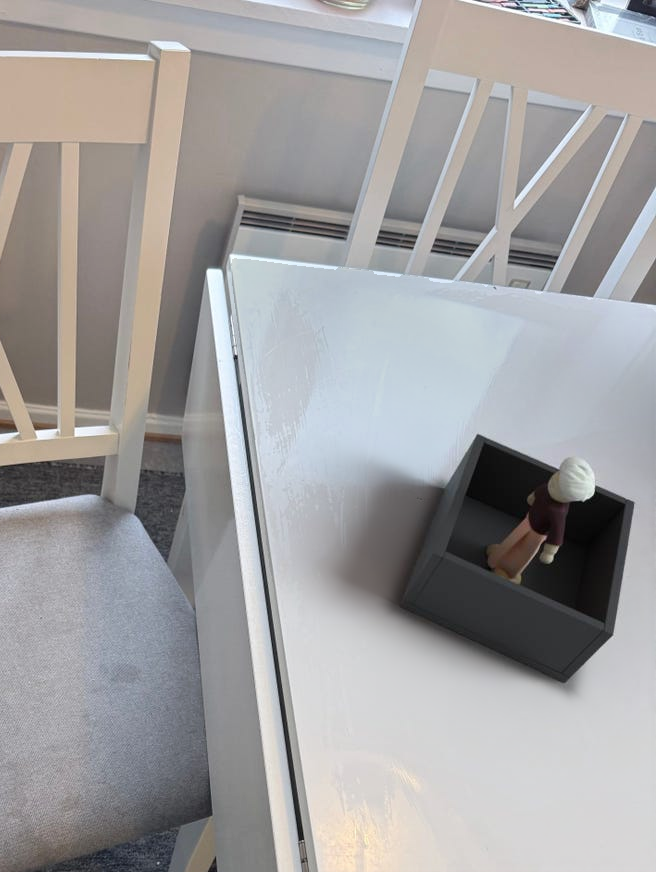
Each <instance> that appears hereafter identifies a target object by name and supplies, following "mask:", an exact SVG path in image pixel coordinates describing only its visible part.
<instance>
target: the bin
mask: <svg viewBox="0 0 656 872" xmlns="http://www.w3.org/2000/svg"><path fill="white" fill-rule="evenodd" d="M559 470H560V468H557V467H555V466H553V465H550V464H548V463H546V462H544V461H541V460H539V459H537V458H534V457H532V456H530V455H528V454H525V453H523V452H520V451H518V450H516V449H513V448H511V447H510V446H506V445H504V444H502V443H500V442H498V441H496V440H493V439H491V438H489V437H486V436H484V435H482V434H480V433H477V434H476V435H475V437H474V439H473V440H472V442H471V443H470V445H469V446H468V449H467V450H466V452H465V454H464V455H463V457H462V459H461V460H460V462H459V464H458V465H457V467H456V469H455V470H454V473H453V474H452V475H451V477H450V479H449V481H448V482H447V484H446V486H445V487H444V490H443V492H442V495H441V497H440V500H439V503H438V505H437V508H436V511H435V513H434V516H433V519H432V521H431V523H430V526H429V528H428V532H427V534H426V537H425V539H424V542H423V543H422V547H421V549H420V552H419V556H418V557H417V560H416V563H415V565H414V568H413V570H412V573H411V576H410V578H409V581H408V583H407V586H406V589H405V591H404V594H403V597H402V599H401V602H400V603H399V607H400V608H403V609H405V610H407V611H409V612H412V613H413V614H416V615H418V616H419V617H420V616H421V617H422V618H425V619H426V620H429V621H431V622H433V623H436V624H437V625H439V626H441V627H444V628H446V629H448V630H450V631H453V632H454V633H457V634H459V635H461V636H463V637H465V638H468V639H470V640H472V641H474V642H476V643H478V644H481V645H483V646H485V647H487V648H489V649H491V650H493V651H495V652H498V653H500V654H502V655H504V656H506V657H509V658H510V659H512V660H514V661H517V662H519V663H522V664H524V665H526V666H528V667H529V668H532V669H535V670H536V671H539V672H541V673H543V674H545V675H547V676H549V677H552V678H554V679H556V680H558V681H560V682H563V683H567V682H568V681H569V680H570V679H571V678H572V677H573V676H574V675H575V674H576V673H577V672H578V671H579V670H580V669H581V668H582V667H583V666H584V665H585V664H586V663H587V662H588V661H589V660H590V659H591V658H592V657H593V656H594V655H595V654H596V653H597V652H598V651H599V650H600V649H601V648H602V647H603V646H604V645H606V643H607V642H608V641H609V640H610V639H611V638H612V637H613V636H614V633H615V628H616V622H617V621H616V620H617V616H618V609H619V603H620V602H619V601H620V596H621V591H622V584H623V577H624V572H625V566H626V559H627V553H628V546H629V540H630V534H631V529H632V521H633V516H634V509H635V504H636V502H635V501H633V500H631V499H628V498H626V497H624V496H622V495H620V494H618V493H615V492H612V491H610V490H608V489H605V488H603V487H601V486H599V485H596V484H595V491H594V494H593V496H592V497H591V498H589V499H586V500H585V501H584V502H583V501H572V502H569V509H568V513H567V516H566V518H565V529H564V535H563V543H562V545H561V546H559V548H558V550H557V552H556V553H555V554H554V556H553V560H552V562H551V563H549V564H544V563H542V562H541V561H540V559H539V557H540V555H541V553H542V552H543V551H544V546H545V542H546V539H545V540H544V541H543V542H542V543H541V544H540V547H539V549H538V551H537V553H536V554H535V556H534V557H533V558H532V560H531V561H530V562H529V564H528V565H527V566H526V567H525V569H524V570H523V571H522V572H521V574H520V575H521V582H520V584H516V583H514V582H512V581H510V580H507V579H505V578H503V577H501V576H499V575H496V574H494V573H492V572H490V571H491V569H492V568H490V567H489V565H488V562H487V559H488V556H487V554H486V550H487V548H488V547H489V546H491V545H493V544H499V545H500V544H501V543H502V542H503V541H504V540H505V539H506V538H507V537H508V536H509V535H510V534H511V533H512V532H513V531H514V530H515V529H516V528H517V527H518V526H519V525H520V524H521V522H522V521H523V520H524V519H526V516H527V514H528V512H529V510H530V508H531V506H532V505H530V504H529V503H528V502H527V498H528V496H529V495H531V494H532V493H533V492H534V491H535V490H536V488H537V487H539V486H542V485H544V484H548V483H549V481H550V479H551V477H552V476H553V475H554V474H555V473H556V472H558V471H559Z"/></svg>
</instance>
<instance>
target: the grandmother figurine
mask: <svg viewBox="0 0 656 872" xmlns="http://www.w3.org/2000/svg"><path fill="white" fill-rule="evenodd" d="M559 469H560V470H559V471H558V472H556V473H555V474H554V475H553V476H552V477H551V479H550V481H549V483H548V484H544V485H542V486H539V487H537V488H536V490H535V491H534V492H533V493H532V494H531V495H529V496H528V498H527V502H528V503H529V504H530V505H532V506H531V508H530V510H529V512H528V514H527V516H526V519H524V520H523V521H522V522H521V524H520V525H519V526H518V527H517V528H516V529H515V530H514V531H513V532H512V533H511V534H510V535H509V536H508V537H507V538H506V539H505V540H504V541H503V542H502V543H501V544H500V545H499V544H493V545H491V546H489V547H488V548H487V550H486V554H487V556H488V559H487V562H488V565H489V567H490V568H492V569H491V571H490V572H492V573H494V574H496V575H499V576H501V577H503V578H505V579H507V580H510V581H512V582H514V583H516V584H520V582H521V575H520V574H521V572H522V571H523V570H524V569H525V567H526V566H527V565H528V564H529V562H530V561H531V560H532V558H533V557H534V556H535V554H536V553H537V551H538V549H539V547H540V544H541V543H542V542H543V541H544V540H545V539H546V542H545V546H544V551H543V552H542V553H541V555H540V557H539V559H540V561H541V562H542V563H544V564H549V563H551V562H552V560H553V556H554V554H555V553H556V552H557V550H558V548H559V546H561V545H562V543H563V535H564V529H565V518H566V516H567V513H568V509H569V502H572V501H583V502H584V501H585V500H586V499H589V498H591V497H592V496H593V494H594V491H595V485H596V482H595V481H596V478H595V474H594V472H593V469H592V467H591V466H590V465H589V464H588V463H587V462H586V461H585V460H584V459H582V458H580V457H577V456H570V457H567V458H565V459H564V460H563V461H561V463H560V466H559Z"/></svg>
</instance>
